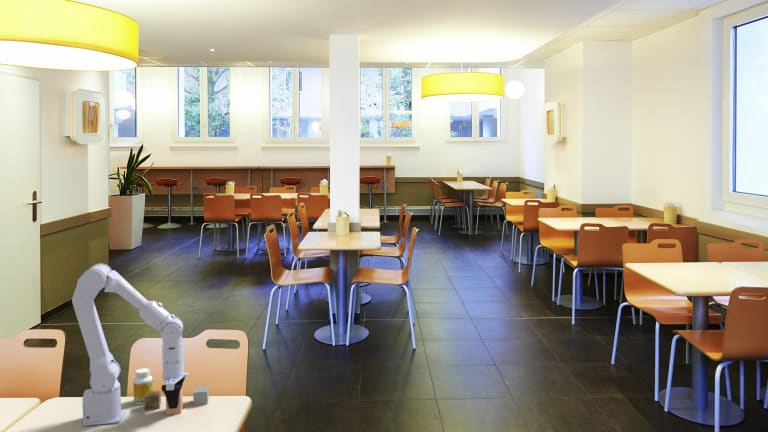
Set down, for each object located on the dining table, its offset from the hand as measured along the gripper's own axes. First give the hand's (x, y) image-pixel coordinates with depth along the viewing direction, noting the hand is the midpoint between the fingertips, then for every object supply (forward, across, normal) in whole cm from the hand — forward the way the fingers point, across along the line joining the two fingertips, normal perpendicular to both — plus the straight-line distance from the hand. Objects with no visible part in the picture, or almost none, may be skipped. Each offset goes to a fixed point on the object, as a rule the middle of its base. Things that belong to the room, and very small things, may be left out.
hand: (174, 404), depth 163 cm
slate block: (+2, +5, -7) cm, 9 cm away
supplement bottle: (+2, +9, +10) cm, 14 cm away
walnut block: (+2, +5, +7) cm, 8 cm away
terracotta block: (+2, 0, 0) cm, 2 cm away
